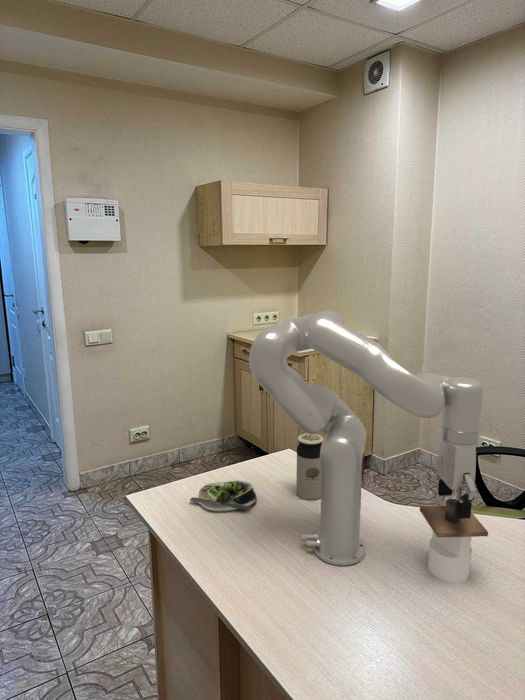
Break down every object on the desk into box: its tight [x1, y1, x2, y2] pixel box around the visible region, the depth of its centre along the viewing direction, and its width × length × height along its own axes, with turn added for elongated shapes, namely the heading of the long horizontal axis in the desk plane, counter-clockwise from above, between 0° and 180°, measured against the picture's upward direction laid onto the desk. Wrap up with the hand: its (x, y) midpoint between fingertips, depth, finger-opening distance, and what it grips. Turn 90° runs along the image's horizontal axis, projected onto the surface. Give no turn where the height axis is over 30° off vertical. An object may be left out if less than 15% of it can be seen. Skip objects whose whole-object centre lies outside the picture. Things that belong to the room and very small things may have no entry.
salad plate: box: [189, 480, 258, 513], centre depth 145 cm, size 19×18×5 cm
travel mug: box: [295, 433, 324, 501], centre depth 147 cm, size 8×8×18 cm
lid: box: [419, 498, 489, 538], centre depth 111 cm, size 11×11×5 cm
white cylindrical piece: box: [427, 530, 472, 584], centre depth 113 cm, size 9×9×12 cm
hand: (453, 505), depth 111 cm, fingers open, 9 cm apart
